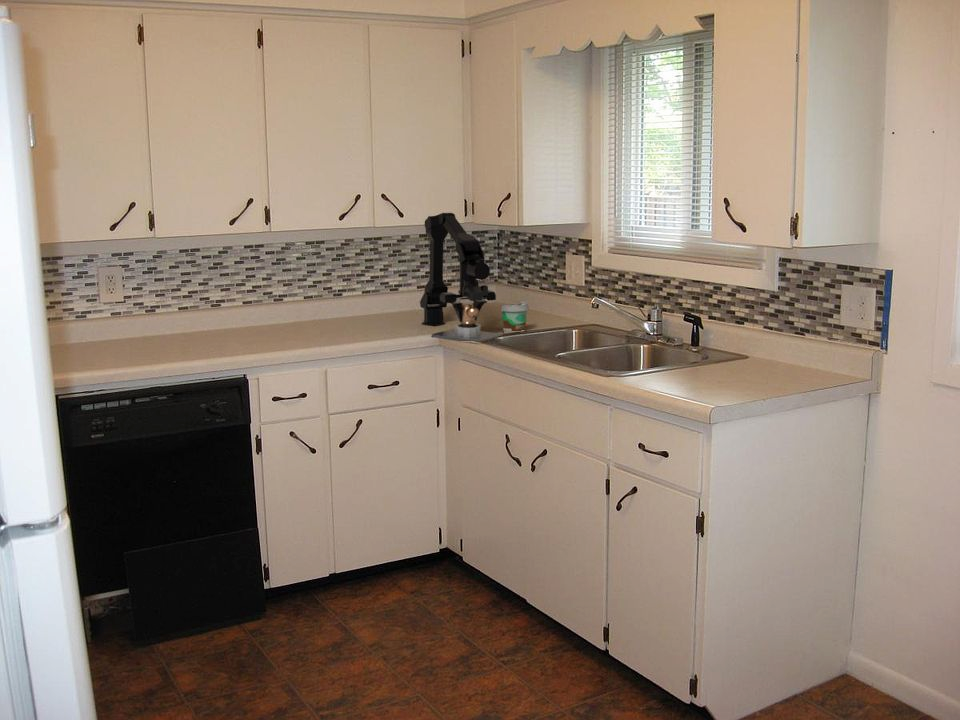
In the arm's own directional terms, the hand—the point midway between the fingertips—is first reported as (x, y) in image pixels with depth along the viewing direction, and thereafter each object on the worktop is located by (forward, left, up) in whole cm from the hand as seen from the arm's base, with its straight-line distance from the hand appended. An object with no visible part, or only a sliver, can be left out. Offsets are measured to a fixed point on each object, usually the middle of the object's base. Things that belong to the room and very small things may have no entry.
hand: (467, 321), depth 341 cm
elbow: (+1, -1, -3) cm, 3 cm away
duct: (0, 0, -6) cm, 6 cm away
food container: (+8, +19, -6) cm, 21 cm away
